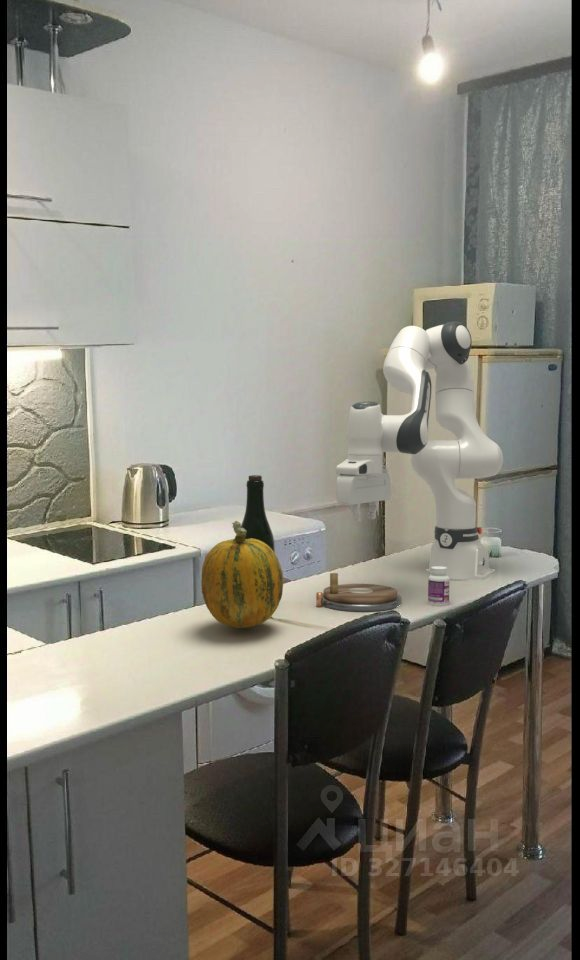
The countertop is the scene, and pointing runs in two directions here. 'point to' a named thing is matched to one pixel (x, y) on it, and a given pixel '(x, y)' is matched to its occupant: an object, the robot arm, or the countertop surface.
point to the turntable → (358, 593)
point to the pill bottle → (438, 586)
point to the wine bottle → (257, 513)
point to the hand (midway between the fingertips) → (364, 520)
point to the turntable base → (356, 608)
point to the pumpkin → (241, 581)
